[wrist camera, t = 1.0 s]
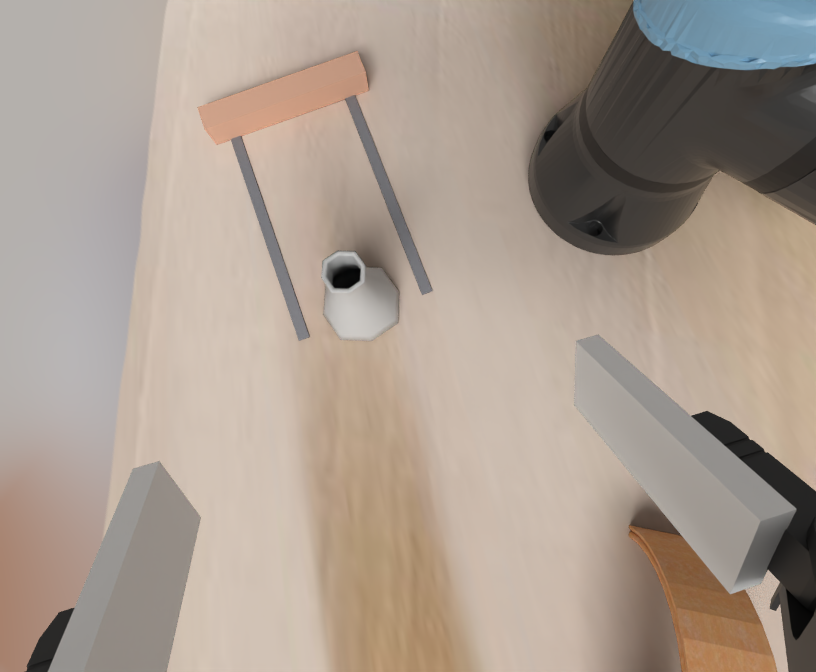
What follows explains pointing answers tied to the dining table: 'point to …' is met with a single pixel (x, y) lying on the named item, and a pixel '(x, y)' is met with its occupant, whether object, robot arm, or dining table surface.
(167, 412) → the dining table surface
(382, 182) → the stop bar lane
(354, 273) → the flask
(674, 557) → the arch
